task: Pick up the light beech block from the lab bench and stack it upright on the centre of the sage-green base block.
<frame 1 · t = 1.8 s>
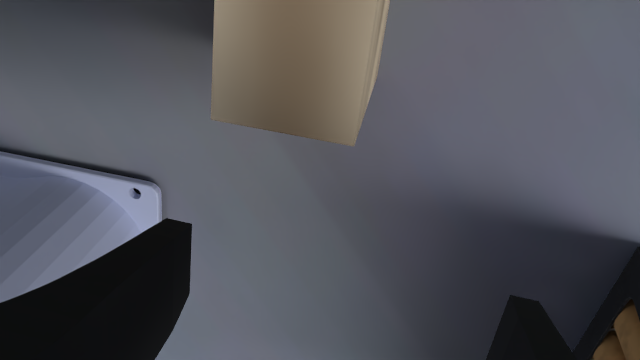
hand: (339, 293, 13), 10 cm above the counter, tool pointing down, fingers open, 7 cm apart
beech block: (328, 10, 21), on the counter
ammunition clip: (598, 347, 25), on the counter
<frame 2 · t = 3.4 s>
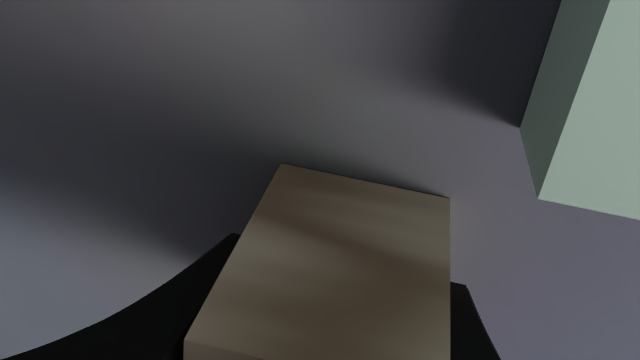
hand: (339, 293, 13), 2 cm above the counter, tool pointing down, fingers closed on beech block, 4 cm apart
beech block: (350, 250, 15), on the counter, touching gripper
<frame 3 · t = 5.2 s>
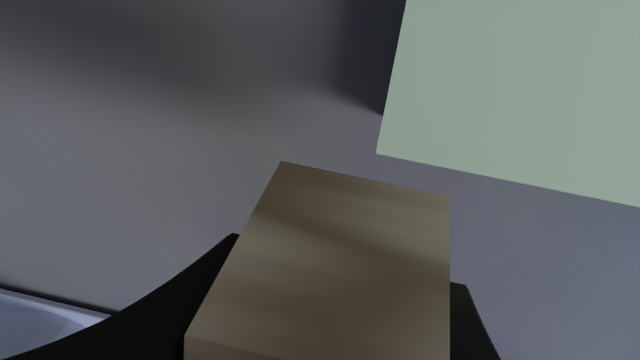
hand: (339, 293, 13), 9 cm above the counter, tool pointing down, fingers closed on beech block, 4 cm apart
beech block: (350, 247, 15), point 7 cm above the counter, touching gripper
when the fingers open (6 cm above the counter, at t = 6.9 s): beech block stays where it is, resting on sage base block.
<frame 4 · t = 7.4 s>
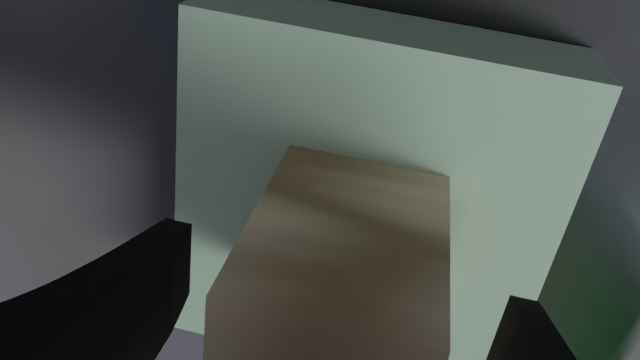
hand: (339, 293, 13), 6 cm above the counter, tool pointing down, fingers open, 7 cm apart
beech block: (356, 227, 16), point 3 cm above the counter, touching sage base block
sage base block: (369, 176, 18), on the counter
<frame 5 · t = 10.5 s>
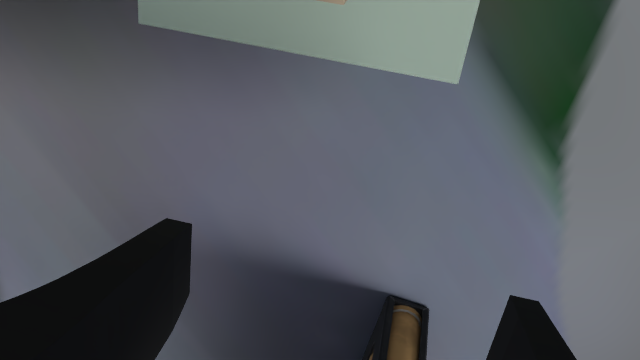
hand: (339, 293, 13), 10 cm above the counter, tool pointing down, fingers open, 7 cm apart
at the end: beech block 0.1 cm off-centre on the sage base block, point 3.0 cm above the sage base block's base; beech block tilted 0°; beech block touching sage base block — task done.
